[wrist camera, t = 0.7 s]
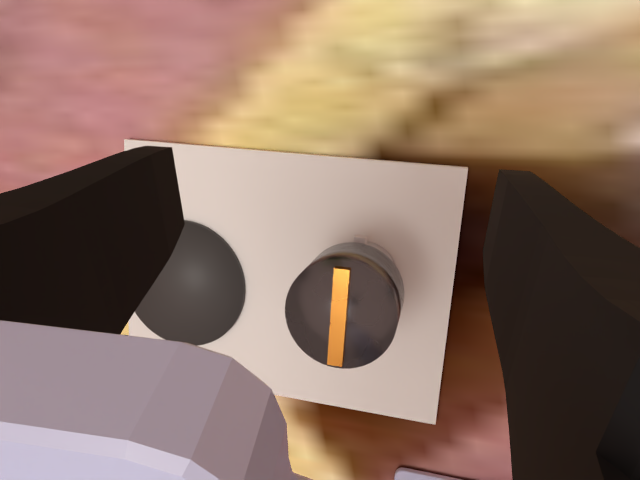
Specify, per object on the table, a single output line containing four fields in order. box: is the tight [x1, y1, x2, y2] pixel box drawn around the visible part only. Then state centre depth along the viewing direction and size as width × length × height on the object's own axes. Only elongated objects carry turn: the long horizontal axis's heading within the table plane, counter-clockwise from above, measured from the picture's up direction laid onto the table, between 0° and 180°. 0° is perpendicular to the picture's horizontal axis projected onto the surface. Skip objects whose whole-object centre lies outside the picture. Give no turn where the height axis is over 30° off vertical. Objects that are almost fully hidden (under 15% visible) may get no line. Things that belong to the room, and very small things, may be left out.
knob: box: [285, 242, 404, 369], centre depth 26 cm, size 5×5×4 cm
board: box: [124, 139, 468, 425], centre depth 31 cm, size 15×20×4 cm
